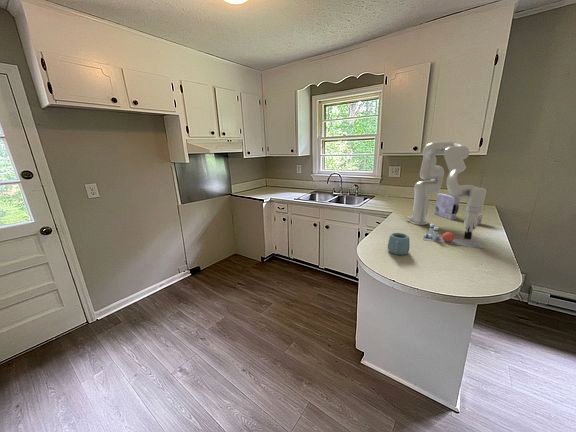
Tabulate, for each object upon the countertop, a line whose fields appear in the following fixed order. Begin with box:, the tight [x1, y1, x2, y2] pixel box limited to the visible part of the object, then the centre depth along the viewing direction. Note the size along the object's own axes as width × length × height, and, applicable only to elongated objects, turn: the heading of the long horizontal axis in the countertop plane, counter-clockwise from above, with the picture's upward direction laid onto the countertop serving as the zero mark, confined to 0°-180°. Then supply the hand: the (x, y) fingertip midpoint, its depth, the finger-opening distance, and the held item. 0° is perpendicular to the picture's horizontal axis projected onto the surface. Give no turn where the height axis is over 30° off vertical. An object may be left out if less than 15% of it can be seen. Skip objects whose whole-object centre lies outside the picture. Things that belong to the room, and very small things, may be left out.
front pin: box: [423, 233, 441, 239], centre depth 152 cm, size 2×2×8 cm
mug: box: [387, 232, 410, 256], centre depth 132 cm, size 15×11×10 cm
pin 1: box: [428, 223, 436, 235], centre depth 154 cm, size 2×2×8 cm
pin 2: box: [432, 226, 439, 242], centre depth 148 cm, size 2×2×8 cm
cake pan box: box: [433, 192, 461, 221], centre depth 194 cm, size 19×5×18 cm, turn 9°
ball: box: [441, 231, 455, 242], centre depth 146 cm, size 6×6×6 cm
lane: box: [422, 236, 484, 249], centre depth 148 cm, size 30×10×1 cm, turn 60°
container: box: [464, 213, 484, 226], centre depth 177 cm, size 8×8×13 cm
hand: (467, 238), depth 144 cm, fingers closed
